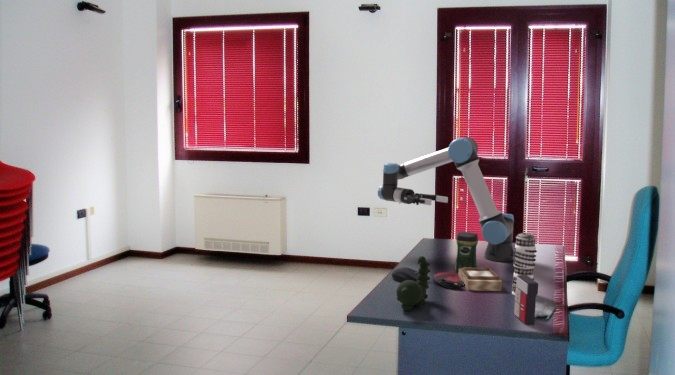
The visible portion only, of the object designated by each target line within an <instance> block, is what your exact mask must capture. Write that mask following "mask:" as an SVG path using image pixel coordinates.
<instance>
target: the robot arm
mask: <svg viewBox="0 0 675 375" xmlns="http://www.w3.org/2000/svg"><path fill="white" fill-rule="evenodd" d="M478 145H479V144H478V143H477V142H476V140H475V139H473V138H471V137H470V136H465V137H457V138H455V139H454V140H452V141H451V142H450V144H449V145H448V147H445V148H443V149H440V150H437V151H434V152H432V153H429V154H426V155H423V156H420V157H417V158H414V159H412V160H409V161H406V162H403V163H400V164H398V163H396V162H385V163H384V164H383V169H382V172H383V173H382V174H383V175H382V185H380V186H379V187H378V190H377V196H378V198H379V199H380V200H382V201H386V202H394V203H398V204H399V205H400V204H404V205H405V204H406V205H411V204H414V205H416V206H419V204H420V205H425V206H431V205H432V201H434V202H439V203H446V204H448V202H449V197H448V196H443V195H439V194H438V193H437V194H428V193H418V192H417V193H416V192H415V191H414V189H410V188H405V187H398V185H399V184H398V182H399V180H403V179H405V178H408V177H412V176H414V175H417V174H419V173H420V174H421V173H422V172H425V171H429V170H431V169H434V168H437V167H441V166H444V165H446V164H450V163H452V162H453V163H454V165H455V167H456V169H457V170H458V171H460V172H461V173H462V176H463V179H464V180H465V183H466V186H467V188H468V190H469V193H470V195H471V197H472V199H473V203H474V205H475V208H476V209H477V212H478V214H479V219H478V222H479V226H480V227H481V237H482V238H483V240H485V241H486V243H487V245H486V248H485V251H484V256H483V258H484V259H486V260H489V261H493V262H501V263H502V262H504V263H505V262H508V263H509V262H513V261H514V259H513V258H514V257H515V256H514V255H513V253H514V251H513V250H514V245H513V241H514V240H513V236H514V223H515V219H514V214H512V213H504V212H503V211H500V210H498V209H497V207H496V204H495V202H494V199H493V197H492V195H491V192H490V190H489V188H488V187H489V186H488V185H487V183H486V180H485V177H484V175H483V173H482V171H481V168H480V166H479V162H480V157H479V155H478V152H479V146H478Z"/></svg>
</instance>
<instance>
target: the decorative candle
mask: <svg viewBox="0 0 675 375" xmlns="http://www.w3.org/2000/svg"><path fill="white" fill-rule="evenodd" d="M536 239H537V237H535V235H534V234H532V233H530V232H520V233H518V234H517V235H515V245H514V247H513V249H514V250H513V251H514V253H513V255H514V256H515V257H514V258H513V259H514V261H512V264H513V265H512V266H513V267H514V270H513V276H512V284H511V294H512V295H513V296H515V291H516V288H517V287H516V283H517V276H518V275H527V276H529V277H530V278H531V279H533V280H534V281H535V277H534V268H535V266H536V264H535V263H534V262H536V261H537V259H536V257H537V255H536V254H535V253H537V252H538V251H537V250H536V249H537V247H536Z"/></svg>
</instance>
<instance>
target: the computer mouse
mask: <svg viewBox="0 0 675 375" xmlns="http://www.w3.org/2000/svg"><path fill="white" fill-rule="evenodd" d="M390 274H391V277H392V280H394V281H395V282H399V283H402V282H403V281H406V280H412V281H415V282H417V280H418V279H417V276H418V274H419V271H418V270H416V269H413V268H411V267H406V266H402V267H398V268H396V269H394V270H393V271H392V272H391V273H390ZM427 283H428V284H429V283H436V284H439V285H440V286H442V287H444V288H445V289H450V290H452V291H456V290H457V291H458V290H461V289H462V288H463V287H462V286H463V283H462V282H458V281H453V280H448V279H445V278H440V279H438V280H437V281H431V280H428V281H427Z"/></svg>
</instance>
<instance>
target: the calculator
mask: <svg viewBox="0 0 675 375" xmlns="http://www.w3.org/2000/svg"><path fill="white" fill-rule="evenodd" d="M516 287H517V288H516V291H515V295H514V312H513V314H514V315H515V316H516V317H517V318H518V319H519V320H520V321H522V323H524V324H525V325H527V326H528V325H532V326H533V325H535V317H536V305H537V304H536V303H537V302H536V301H537V299H536V298H537V295H538V294H539V283H538V282H537V281H536V280H535V279H534V280H533V279H531V278H530V277H529V276H527V275H518V276H517V283H516Z"/></svg>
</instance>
